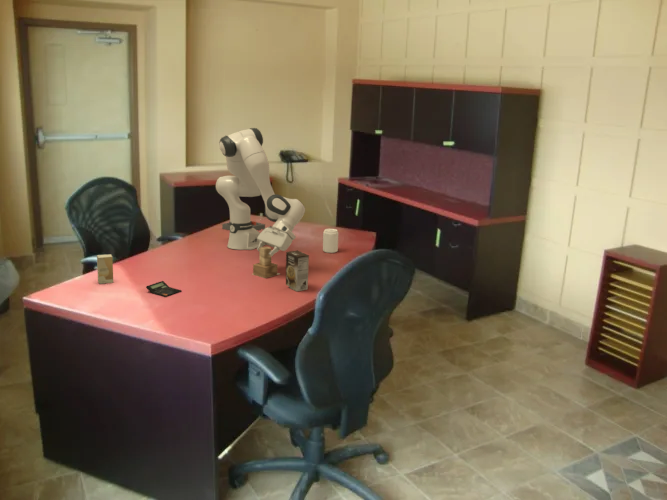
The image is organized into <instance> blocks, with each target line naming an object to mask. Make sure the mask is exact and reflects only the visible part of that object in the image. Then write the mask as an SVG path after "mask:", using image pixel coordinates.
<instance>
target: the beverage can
mask: <svg viewBox="0 0 667 500" xmlns="http://www.w3.org/2000/svg"><path fill="white" fill-rule="evenodd" d="M322 236H323V237H322V251H323V252H324V253H327V254H334V253H337V252H338V251H339V250H338V249H339V231H338V229H336V228H325V229H324V230H323V234H322Z"/></svg>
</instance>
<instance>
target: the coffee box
mask: <svg viewBox="0 0 667 500" xmlns="http://www.w3.org/2000/svg"><path fill="white" fill-rule="evenodd" d="M309 256H310V255H309V254H307V253H304V252H302V251H300V250H291V251H290V250H289V251H286V252H285V258H286V259H285V285H286V286H287V287H288V288H289V289H290V290H293V291H295V292H301V291H306V290H308V289H309V288H308V287H309V264H310V263H309V261H310V259H309V258H310V257H309Z"/></svg>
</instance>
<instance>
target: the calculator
mask: <svg viewBox="0 0 667 500" xmlns="http://www.w3.org/2000/svg"><path fill="white" fill-rule="evenodd" d="M145 288H146V289H147V290H148V292H149V293H151V294H152V295H155V296H159V297H161V298H162V297H164V298H168V297H170V296H173V295H176V294H179V293H182V291H183V290H181V289H180V288H179V289H178V288H174V287H172V286H171V287H170V286H169V285H168V284H167V283H166V282H165V281H163V280H161V281H158V282H156V283H153V284H149V285H146V287H145Z"/></svg>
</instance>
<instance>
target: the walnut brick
mask: <svg viewBox="0 0 667 500" xmlns="http://www.w3.org/2000/svg"><path fill="white" fill-rule="evenodd" d="M252 266H253V267H252V269H253V270H252V274H253V276H255V277H256V276H257V277H259V278H263V279H268V278H271V276H272V277H275V276H278V275H277V273H278V264H277V263H273V262H271V265H268V266H263V265H260V264H259V262H257V263H254V264H252Z"/></svg>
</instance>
